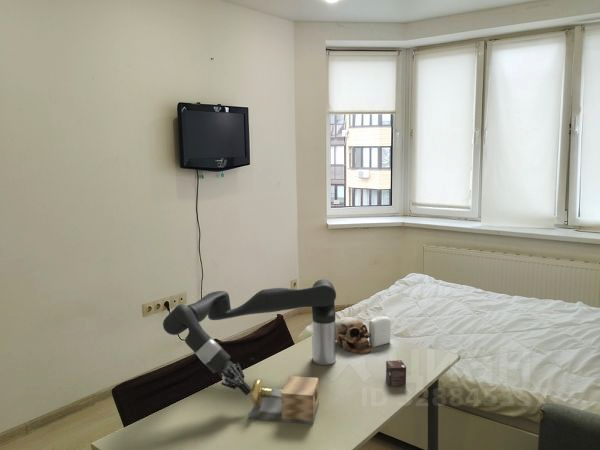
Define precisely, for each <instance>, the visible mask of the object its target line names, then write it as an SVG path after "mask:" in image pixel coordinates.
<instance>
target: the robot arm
mask: <svg viewBox="0 0 600 450" xmlns="http://www.w3.org/2000/svg"><path fill="white" fill-rule="evenodd" d="M336 298H337V293H336V289H335V287H334V285H333V283H332V282H331V281H329V280H327V279H324V278H321V279H318V280H317V281H315V282H314V284H313V285H312V287H308V288H307V287H306V288H298V289H295V288H288V287H272V288H266V289H265V288H264V289H260V290H259V291H257V292H256V294H254V295H252V297H250V298H249V299H248V300H247V301H246V302H245V303H243V304H241V305H239V306H238V307H235V308H233V309H232V308H231V300H230V295H229V292H227V291H225V290H217V291H213V292H212V291H211V292H210V293H207V294H206V295H204V296H203V297H201V298H200V299H199V300H198V301H196V302H194V303H191V304H188V305H186V304H178V305H177V306H175V307H174V308H173V310H171V311H170V312H169V314H168V315H167V316H166V317H165V318H164V319H163V321H162V327H163V330H164V331H165V332H166V333H167V334H169V335H171V336H177V335H179V334H182V333H183V332H185V331H186V330H187V329H188V333H187V335H186V337H185V338H184V342H185V344H186V345H187V346H188V347H189V348H190V349H191V351H193V353H195V355H196V356H197V357H198V359H199V360H200V361H201V362H202V363H203V364H204V365H205V366H206V367H207V368H208V369H209V371H211V372H212V373H213V374H216V373H218V375H219V377H220V378H221V379H222V381H221V382H220V384H221V385H222V386H225V387H227V388H229V389H232V390H236V389H239V390H240V391H241V392H243V394H244V395H245V396H248V395H249V394H250V393H252V388H251V386H250V385H248V383H246V382H245V373H244V372H243V370H242V368H241V365H240V362H236V363H233V361H231V360H230V359H231V355H230V354H228V353H227V351H226V350H225V349H224V348H223V347H222V346H221V345H220V343H218V342H217V341H216V340H215V339H213V337H211V336H210V335H209V334H208V333H207V332H206V331H205V329H204V328H203V327H202V325H201V323H200V322H202V321H203V320H205V319H206V318H207V317H208V319H209V320H211V321H221V320H226V319H232V318H237V317H242V316H247V315H255V314H257V315H258V314H265V313H267V314H268V313H275V312H281V311H287V310H293V309H294V310H295V309H298V308H299V309H301V308H311V313H312V315H311V316H312V337H311V342H312V343H311V344H312V347H311V348H312V356H311V357H312V360H313V362H314V363H315V364H317V365H320V366H321V365H322V366H328V365H332V364H334V363H336V359H337V358H336V357H337V353H336V352H337V350H336V349H337V348H336V347H337V346H336V344H337V343H336V342H337V341H336V329H335V323H336V309H335V308H336V307H335V301H336Z"/></svg>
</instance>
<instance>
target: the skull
mask: <svg viewBox="0 0 600 450" xmlns="http://www.w3.org/2000/svg"><path fill="white" fill-rule="evenodd" d="M335 329H336V342H337V343H338V344H339V345H341V346H342V347H343V350H344V351H347V352H351V353H356V354H358V355H359V354H360V355H362V354H370V353H372V351H373V350H372V346H370V344H369V337H370V334H369V329H368V328H367V326H366V324H364V323H363V322H362V320H360V319H359V318H356V317H352V316H348V317H347V316H345V317H341V318H339V319H337V320H336V321H335Z"/></svg>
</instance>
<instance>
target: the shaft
mask: <svg viewBox="0 0 600 450" xmlns="http://www.w3.org/2000/svg"><path fill="white" fill-rule="evenodd" d="M251 389H252V390H251V402H252V405H253V406H254V405H261V404H262V401H263V397H264V398H277V399H281V393H282V390H283V388H270V387H268V388H267V387H265V381H264V380H263V379H255V380H254V381H253V385H252V388H251Z"/></svg>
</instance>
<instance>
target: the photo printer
mask: <svg viewBox="0 0 600 450" xmlns="http://www.w3.org/2000/svg"><path fill="white" fill-rule="evenodd" d="M391 331H392V329H391V319H390V317H388V316H385V315H382V316H377V317H374V318H372V319H371V320H369V322H368V333H369V334H370V337H369V338H368V340H369V345H370V347H371V348H372V347H373V348H374V347H379V346H382V345H386V344H387V345H388V344H389V343H391V339H392V338H391V337H392V336H391Z"/></svg>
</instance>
